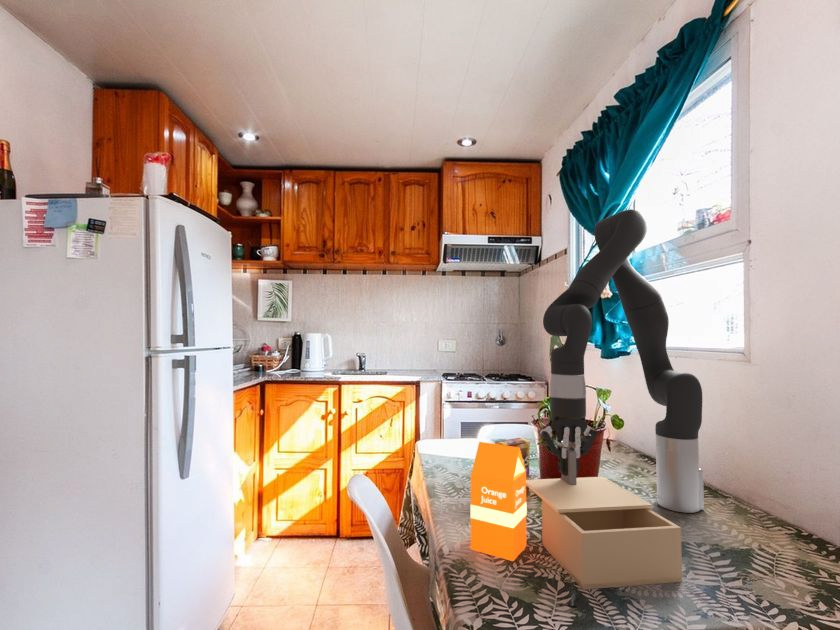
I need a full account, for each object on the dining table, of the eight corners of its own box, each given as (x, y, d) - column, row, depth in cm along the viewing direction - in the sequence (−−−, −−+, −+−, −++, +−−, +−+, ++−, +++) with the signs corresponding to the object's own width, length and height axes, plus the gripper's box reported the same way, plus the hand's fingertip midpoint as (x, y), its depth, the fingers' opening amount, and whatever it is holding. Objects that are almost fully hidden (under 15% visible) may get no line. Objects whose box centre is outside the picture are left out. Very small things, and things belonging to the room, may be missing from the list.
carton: (625, 539, 90) (624, 494, 91) (682, 581, 74) (680, 527, 75) (542, 544, 88) (541, 498, 88) (582, 589, 72) (582, 533, 72)
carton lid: (602, 479, 100) (602, 445, 100) (652, 507, 83) (651, 467, 83) (523, 482, 97) (522, 447, 97) (557, 512, 80) (557, 470, 80)
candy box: (505, 508, 106) (505, 444, 107) (492, 502, 110) (492, 440, 111) (530, 500, 111) (530, 440, 112) (518, 495, 115) (517, 436, 116)
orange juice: (513, 561, 81) (513, 451, 82) (470, 549, 85) (470, 445, 86) (527, 545, 87) (526, 443, 88) (486, 534, 92) (486, 438, 93)
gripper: (587, 392, 102) (588, 468, 101) (531, 392, 100) (532, 470, 99) (605, 396, 94) (607, 478, 93) (545, 397, 92) (546, 481, 91)
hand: (568, 474), depth 96 cm, fingers closed
